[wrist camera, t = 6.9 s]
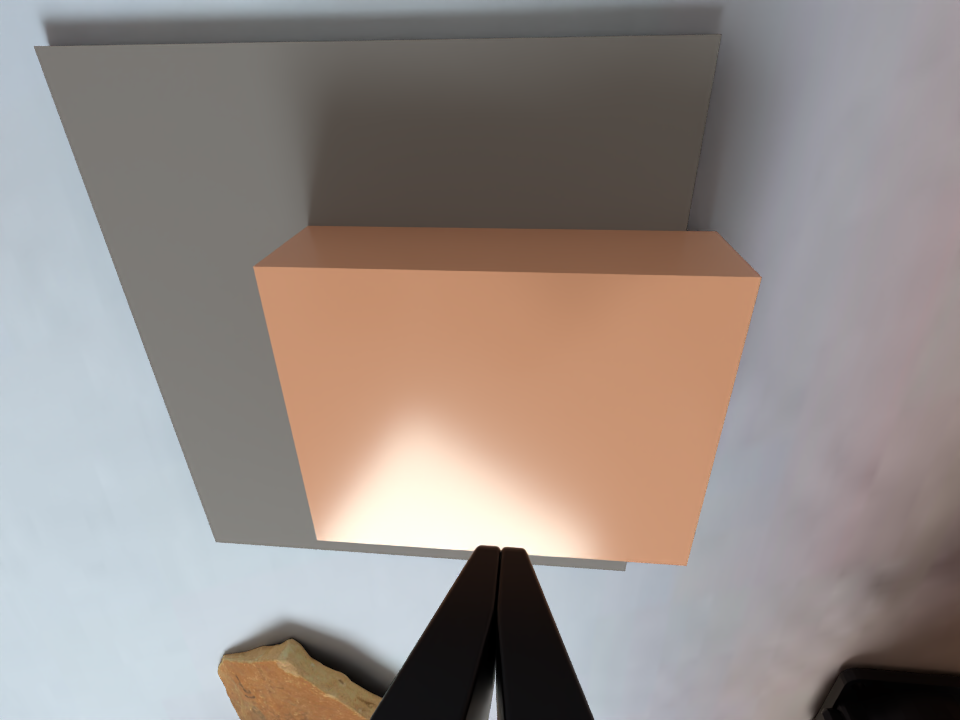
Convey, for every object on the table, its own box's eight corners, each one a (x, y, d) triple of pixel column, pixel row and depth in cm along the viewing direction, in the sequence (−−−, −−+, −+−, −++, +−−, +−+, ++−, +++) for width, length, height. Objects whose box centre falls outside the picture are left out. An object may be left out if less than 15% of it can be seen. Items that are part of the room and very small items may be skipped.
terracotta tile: (761, 277, 10) (253, 266, 11) (686, 565, 14) (317, 540, 15) (716, 231, 13) (307, 225, 14) (663, 485, 17) (350, 468, 18)
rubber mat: (716, 34, 11) (721, 33, 11) (623, 561, 19) (624, 570, 19) (47, 46, 12) (33, 46, 12) (221, 533, 20) (215, 542, 20)
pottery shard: (481, 729, 27) (477, 789, 24) (337, 761, 30) (322, 817, 27) (354, 603, 23) (335, 662, 20) (202, 655, 26) (171, 711, 23)
